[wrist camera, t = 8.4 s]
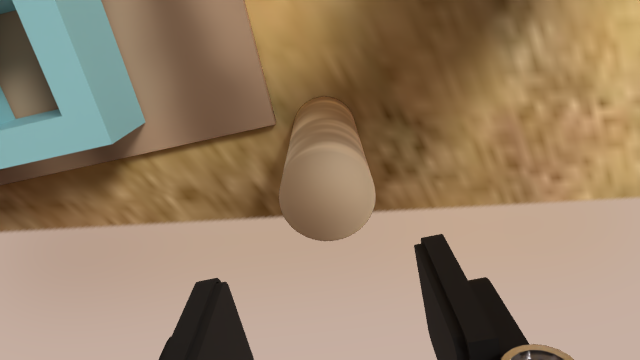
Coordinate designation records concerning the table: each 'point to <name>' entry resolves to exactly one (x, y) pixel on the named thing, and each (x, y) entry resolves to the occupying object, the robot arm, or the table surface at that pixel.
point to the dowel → (326, 173)
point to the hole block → (70, 83)
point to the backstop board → (154, 78)
